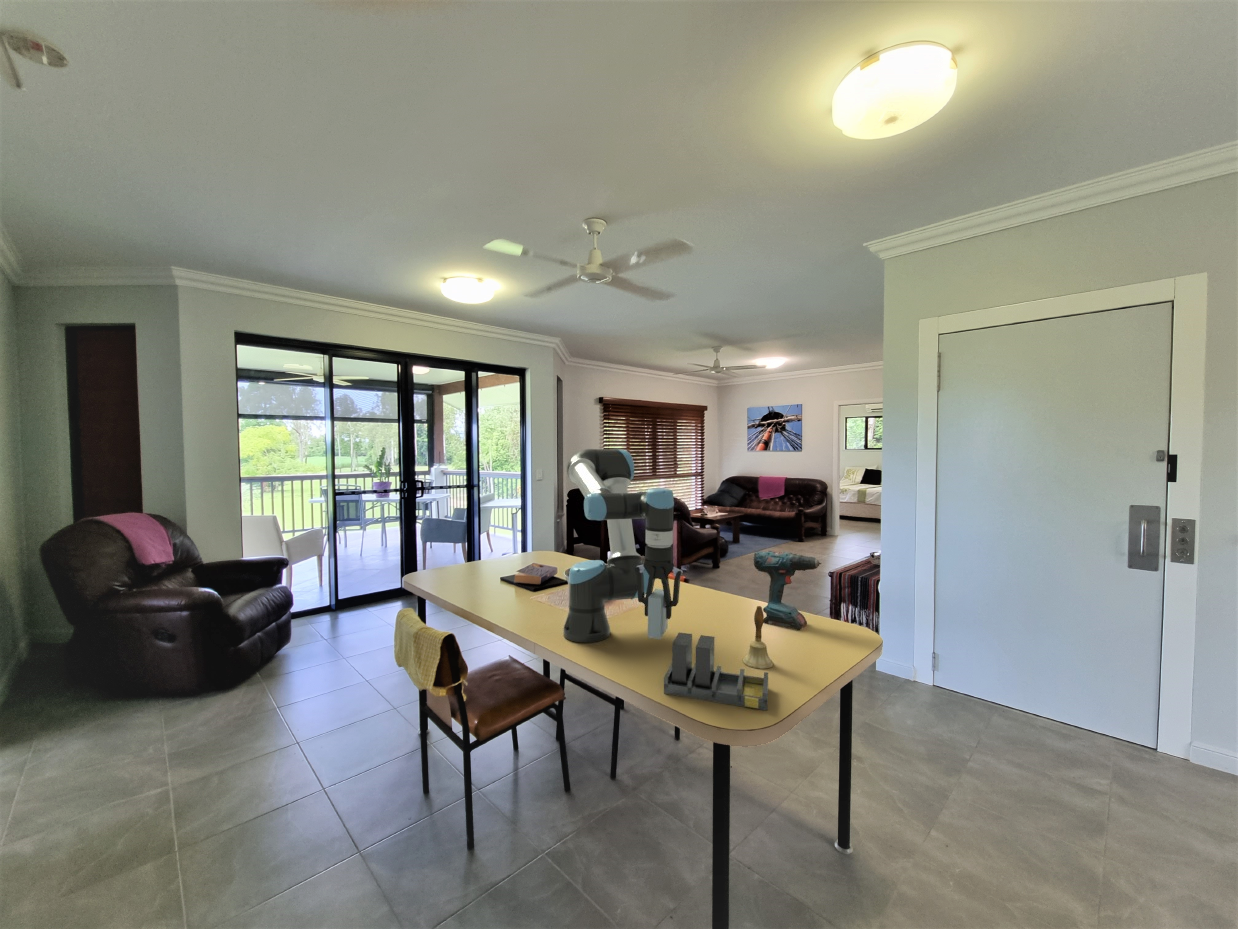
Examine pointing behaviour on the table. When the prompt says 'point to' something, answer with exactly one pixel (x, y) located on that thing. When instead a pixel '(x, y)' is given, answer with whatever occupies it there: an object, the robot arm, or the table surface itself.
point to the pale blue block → (656, 614)
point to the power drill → (782, 585)
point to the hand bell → (758, 646)
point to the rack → (711, 677)
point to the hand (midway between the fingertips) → (657, 628)
